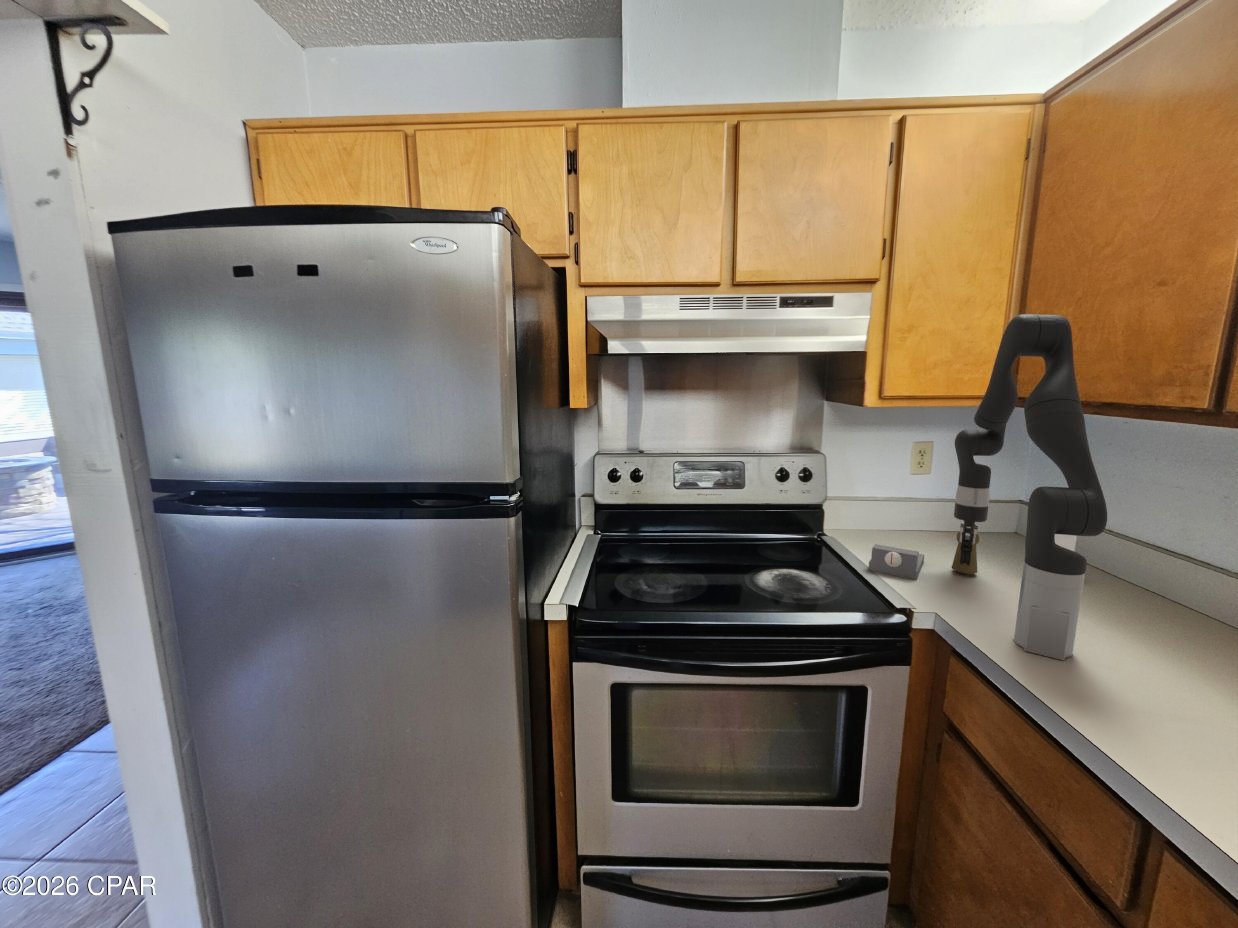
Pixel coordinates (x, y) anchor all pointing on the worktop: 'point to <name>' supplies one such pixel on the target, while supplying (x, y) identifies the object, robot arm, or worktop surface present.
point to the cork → (973, 560)
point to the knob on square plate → (896, 561)
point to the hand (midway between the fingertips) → (965, 561)
